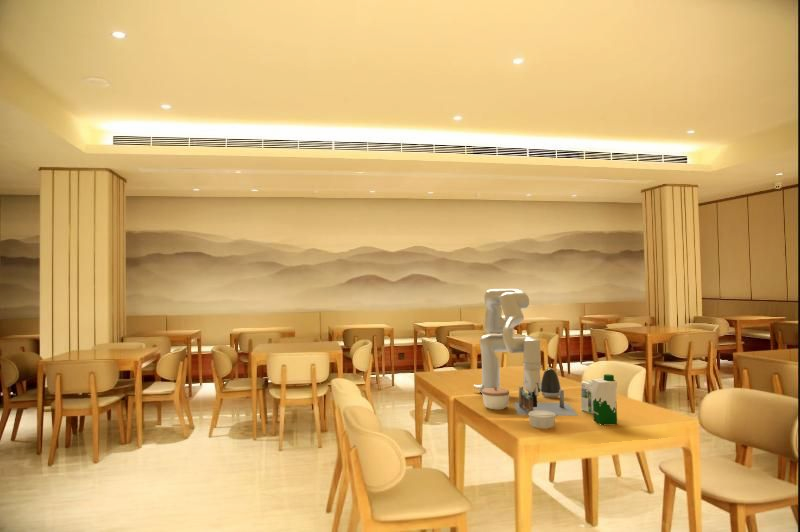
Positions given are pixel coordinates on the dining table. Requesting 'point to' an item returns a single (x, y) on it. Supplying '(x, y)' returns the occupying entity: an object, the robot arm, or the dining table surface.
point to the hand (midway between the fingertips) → (533, 406)
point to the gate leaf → (526, 401)
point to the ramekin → (542, 419)
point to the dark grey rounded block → (550, 384)
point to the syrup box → (587, 396)
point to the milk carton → (605, 400)
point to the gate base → (548, 406)
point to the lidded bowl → (495, 398)
